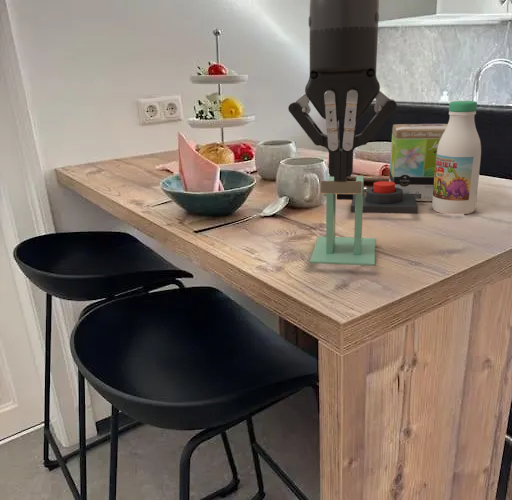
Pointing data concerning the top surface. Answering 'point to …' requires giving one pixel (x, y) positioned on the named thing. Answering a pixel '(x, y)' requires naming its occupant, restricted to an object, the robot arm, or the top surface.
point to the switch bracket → (344, 247)
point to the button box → (388, 202)
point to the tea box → (415, 158)
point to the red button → (384, 187)
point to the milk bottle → (458, 162)
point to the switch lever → (341, 189)
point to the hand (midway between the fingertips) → (340, 180)
